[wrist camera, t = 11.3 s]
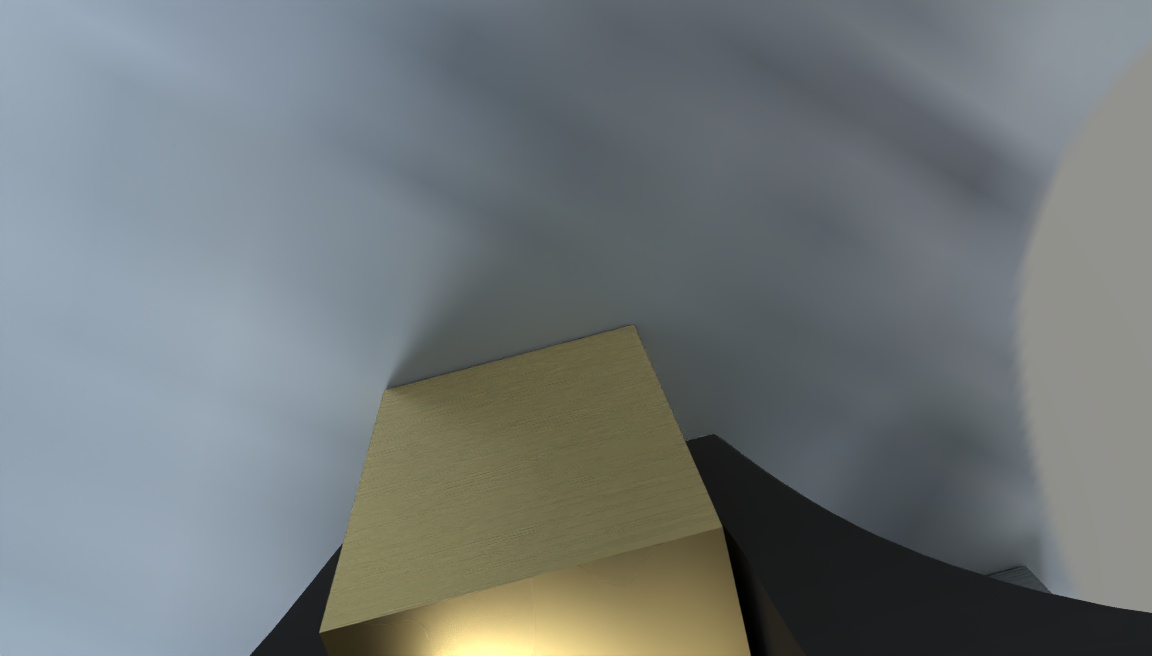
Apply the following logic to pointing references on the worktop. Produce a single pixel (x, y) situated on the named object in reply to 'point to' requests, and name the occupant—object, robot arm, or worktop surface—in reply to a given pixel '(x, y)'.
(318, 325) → the worktop surface
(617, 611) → the plug
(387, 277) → the worktop surface
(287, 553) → the worktop surface
